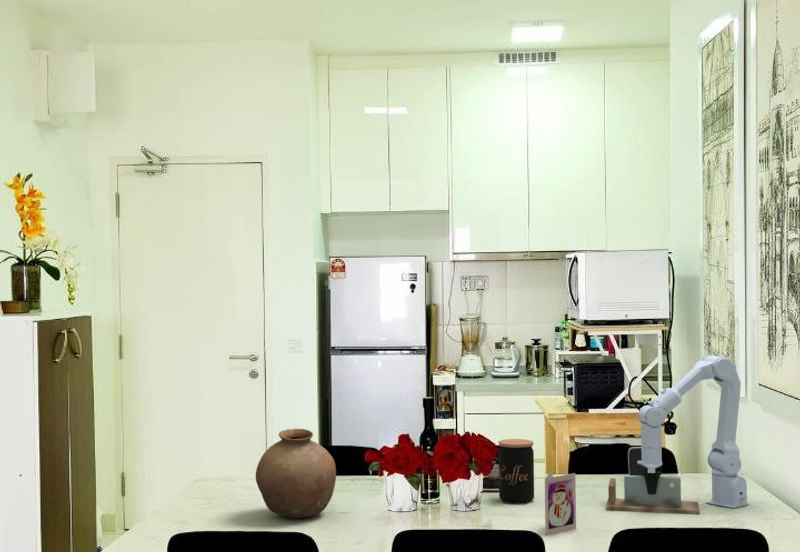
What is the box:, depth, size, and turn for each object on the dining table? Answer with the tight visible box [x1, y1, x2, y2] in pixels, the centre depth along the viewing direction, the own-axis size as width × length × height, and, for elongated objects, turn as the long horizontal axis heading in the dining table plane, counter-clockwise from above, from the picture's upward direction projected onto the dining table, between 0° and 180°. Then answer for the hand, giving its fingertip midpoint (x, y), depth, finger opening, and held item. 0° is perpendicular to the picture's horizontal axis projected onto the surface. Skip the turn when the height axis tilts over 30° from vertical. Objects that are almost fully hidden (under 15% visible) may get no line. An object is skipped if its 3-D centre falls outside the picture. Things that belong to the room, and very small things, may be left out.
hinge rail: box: [605, 477, 700, 515], centre depth 289 cm, size 26×12×7 cm, turn 75°
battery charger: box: [627, 446, 645, 476], centre depth 328 cm, size 7×4×11 cm, turn 85°
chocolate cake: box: [482, 463, 499, 493], centre depth 327 cm, size 28×28×7 cm
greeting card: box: [544, 470, 577, 536], centre depth 265 cm, size 11×7×15 cm, turn 126°
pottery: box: [255, 428, 337, 519], centre depth 284 cm, size 23×23×25 cm
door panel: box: [623, 474, 682, 506], centre depth 289 cm, size 16×4×8 cm, turn 75°
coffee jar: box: [498, 438, 535, 505], centre depth 301 cm, size 11×11×18 cm
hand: (652, 493), depth 289 cm, fingers closed on door panel, 2 cm apart
